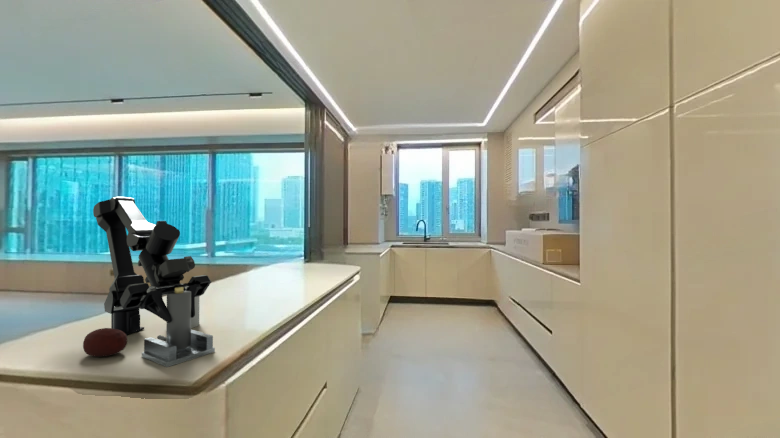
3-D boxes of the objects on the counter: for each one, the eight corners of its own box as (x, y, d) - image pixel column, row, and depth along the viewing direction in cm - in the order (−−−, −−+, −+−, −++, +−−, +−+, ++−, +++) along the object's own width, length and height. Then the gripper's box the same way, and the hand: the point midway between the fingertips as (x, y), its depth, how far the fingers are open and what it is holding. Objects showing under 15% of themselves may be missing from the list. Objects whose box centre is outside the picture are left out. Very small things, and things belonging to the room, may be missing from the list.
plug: (147, 341, 90) (147, 285, 90) (168, 336, 95) (169, 282, 95) (173, 351, 84) (173, 290, 84) (195, 345, 88) (195, 287, 88)
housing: (141, 356, 86) (141, 339, 86) (189, 343, 95) (189, 327, 95) (166, 367, 80) (166, 348, 80) (214, 351, 89) (214, 335, 89)
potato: (102, 348, 92) (102, 323, 92) (137, 351, 90) (137, 325, 90) (71, 359, 84) (71, 332, 84) (108, 362, 82) (108, 335, 82)
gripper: (126, 248, 82) (151, 305, 76) (207, 243, 98) (233, 290, 92) (110, 281, 86) (132, 337, 80) (190, 271, 102) (214, 318, 96)
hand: (182, 319), depth 87 cm, fingers closed on plug, 5 cm apart
